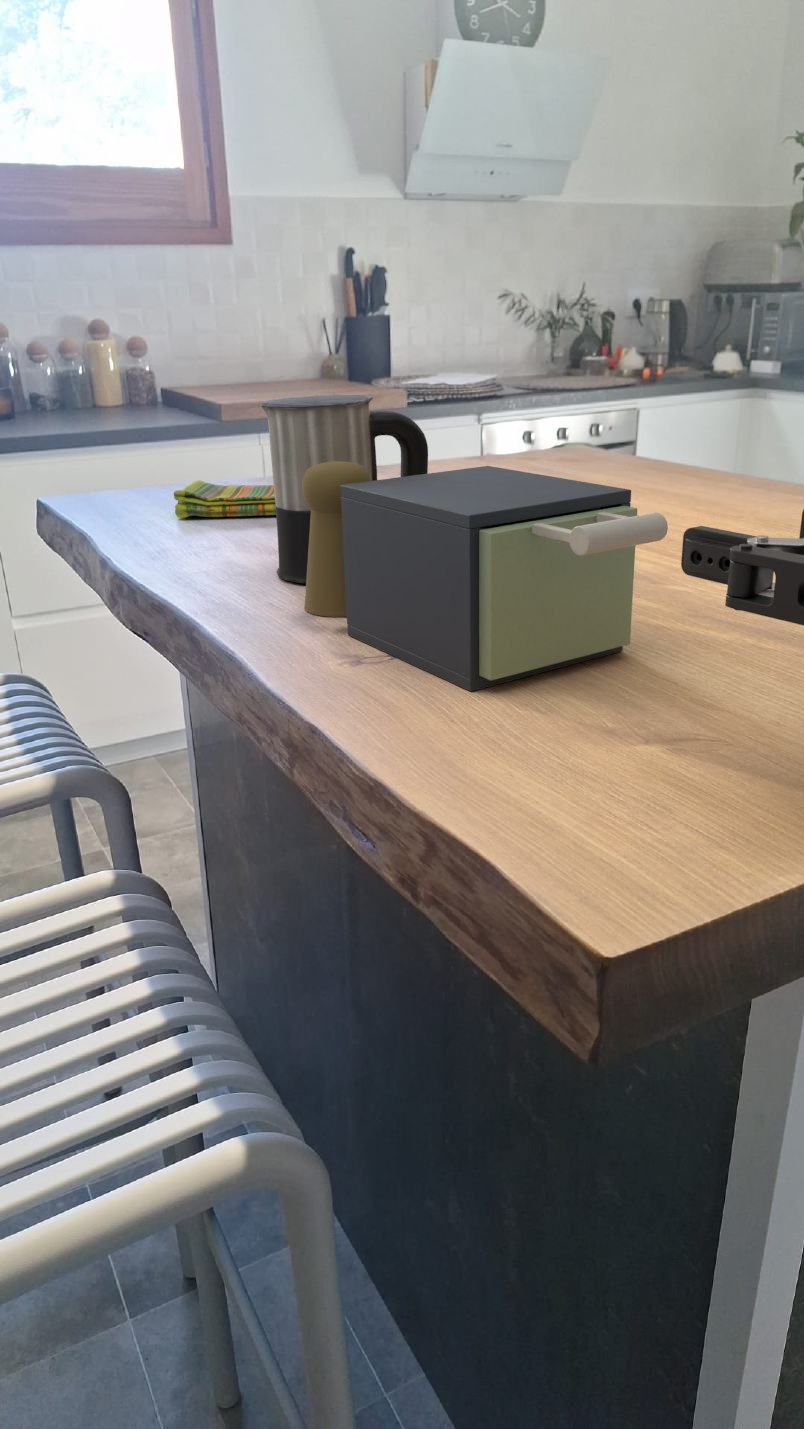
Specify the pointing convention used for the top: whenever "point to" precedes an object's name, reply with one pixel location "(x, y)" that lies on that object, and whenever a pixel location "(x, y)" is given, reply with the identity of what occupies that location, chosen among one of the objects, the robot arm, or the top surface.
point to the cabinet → (441, 559)
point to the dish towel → (224, 500)
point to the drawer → (558, 586)
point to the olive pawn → (327, 535)
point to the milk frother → (327, 457)
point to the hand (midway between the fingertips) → (748, 536)
